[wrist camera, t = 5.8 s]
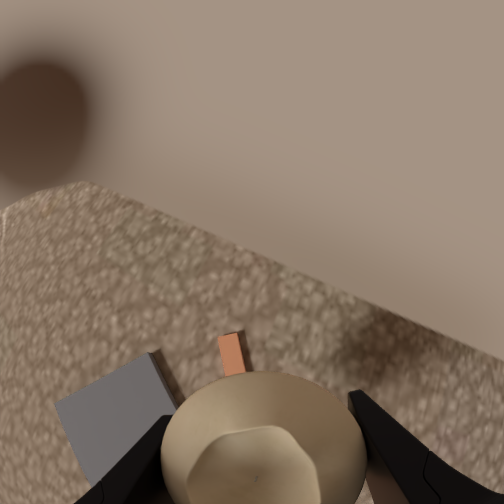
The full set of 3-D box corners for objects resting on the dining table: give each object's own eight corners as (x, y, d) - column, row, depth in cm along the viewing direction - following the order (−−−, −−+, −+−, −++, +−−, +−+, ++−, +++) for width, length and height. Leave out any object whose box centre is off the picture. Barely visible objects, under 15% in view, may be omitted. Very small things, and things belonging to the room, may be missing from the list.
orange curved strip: (288, 538, 15) (288, 541, 15) (269, 541, 15) (269, 543, 15) (237, 333, 23) (236, 332, 23) (219, 337, 23) (217, 337, 23)
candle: (262, 359, 16) (206, 322, 7) (353, 404, 14) (425, 430, 5) (210, 441, 14) (102, 493, 5) (299, 489, 12) (291, 599, 3)
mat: (250, 518, 17) (248, 522, 16) (137, 547, 15) (133, 551, 15) (151, 353, 23) (147, 352, 23) (59, 403, 22) (54, 403, 22)
